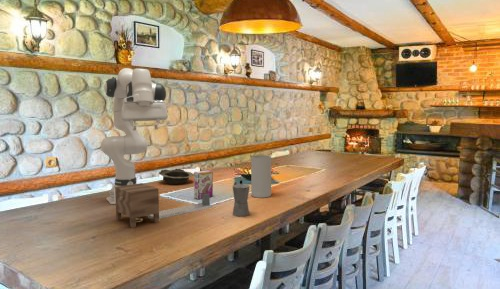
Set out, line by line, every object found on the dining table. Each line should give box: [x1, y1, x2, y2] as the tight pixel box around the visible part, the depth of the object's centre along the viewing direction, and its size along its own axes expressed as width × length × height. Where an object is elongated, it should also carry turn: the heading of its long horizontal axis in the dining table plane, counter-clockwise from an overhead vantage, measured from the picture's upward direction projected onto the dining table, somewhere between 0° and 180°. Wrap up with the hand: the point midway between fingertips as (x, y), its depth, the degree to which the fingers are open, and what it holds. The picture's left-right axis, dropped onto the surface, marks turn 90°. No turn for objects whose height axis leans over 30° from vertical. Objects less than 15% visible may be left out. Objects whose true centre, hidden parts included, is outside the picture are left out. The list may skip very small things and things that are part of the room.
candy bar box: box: [193, 169, 214, 200], centre depth 234 cm, size 11×5×16 cm, turn 134°
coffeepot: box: [232, 179, 250, 217], centre depth 199 cm, size 15×9×18 cm, turn 25°
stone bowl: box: [158, 168, 194, 185], centre depth 281 cm, size 25×25×9 cm
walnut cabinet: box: [115, 182, 160, 229], centre depth 186 cm, size 18×15×16 cm
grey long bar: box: [146, 193, 213, 220], centre depth 203 cm, size 36×8×7 cm, turn 132°
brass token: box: [136, 217, 144, 223], centre depth 187 cm, size 5×5×1 cm
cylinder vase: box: [250, 154, 272, 199], centre depth 238 cm, size 12×12×25 cm
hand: (145, 129), depth 170 cm, fingers open, 8 cm apart
